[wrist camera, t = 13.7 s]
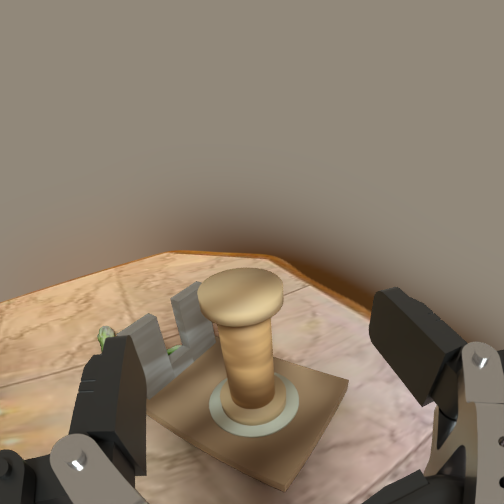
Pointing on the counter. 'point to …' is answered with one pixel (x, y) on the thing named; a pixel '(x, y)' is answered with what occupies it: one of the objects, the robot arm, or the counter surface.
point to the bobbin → (246, 341)
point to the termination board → (209, 404)
